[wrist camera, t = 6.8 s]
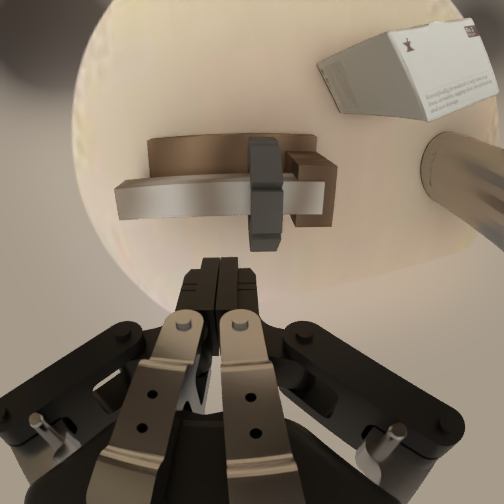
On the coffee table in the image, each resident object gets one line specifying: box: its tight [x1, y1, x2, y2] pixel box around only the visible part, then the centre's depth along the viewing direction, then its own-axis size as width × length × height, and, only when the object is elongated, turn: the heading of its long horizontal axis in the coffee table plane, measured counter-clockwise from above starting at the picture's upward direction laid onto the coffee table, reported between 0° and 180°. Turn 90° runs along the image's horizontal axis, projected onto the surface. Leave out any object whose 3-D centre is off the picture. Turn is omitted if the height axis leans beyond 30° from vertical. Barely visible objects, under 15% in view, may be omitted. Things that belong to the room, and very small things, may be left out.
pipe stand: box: [114, 133, 338, 227], centre depth 25 cm, size 17×8×8 cm, turn 90°
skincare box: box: [317, 18, 499, 122], centre depth 18 cm, size 8×6×15 cm
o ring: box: [247, 137, 284, 252], centre depth 23 cm, size 2×9×9 cm, turn 0°
